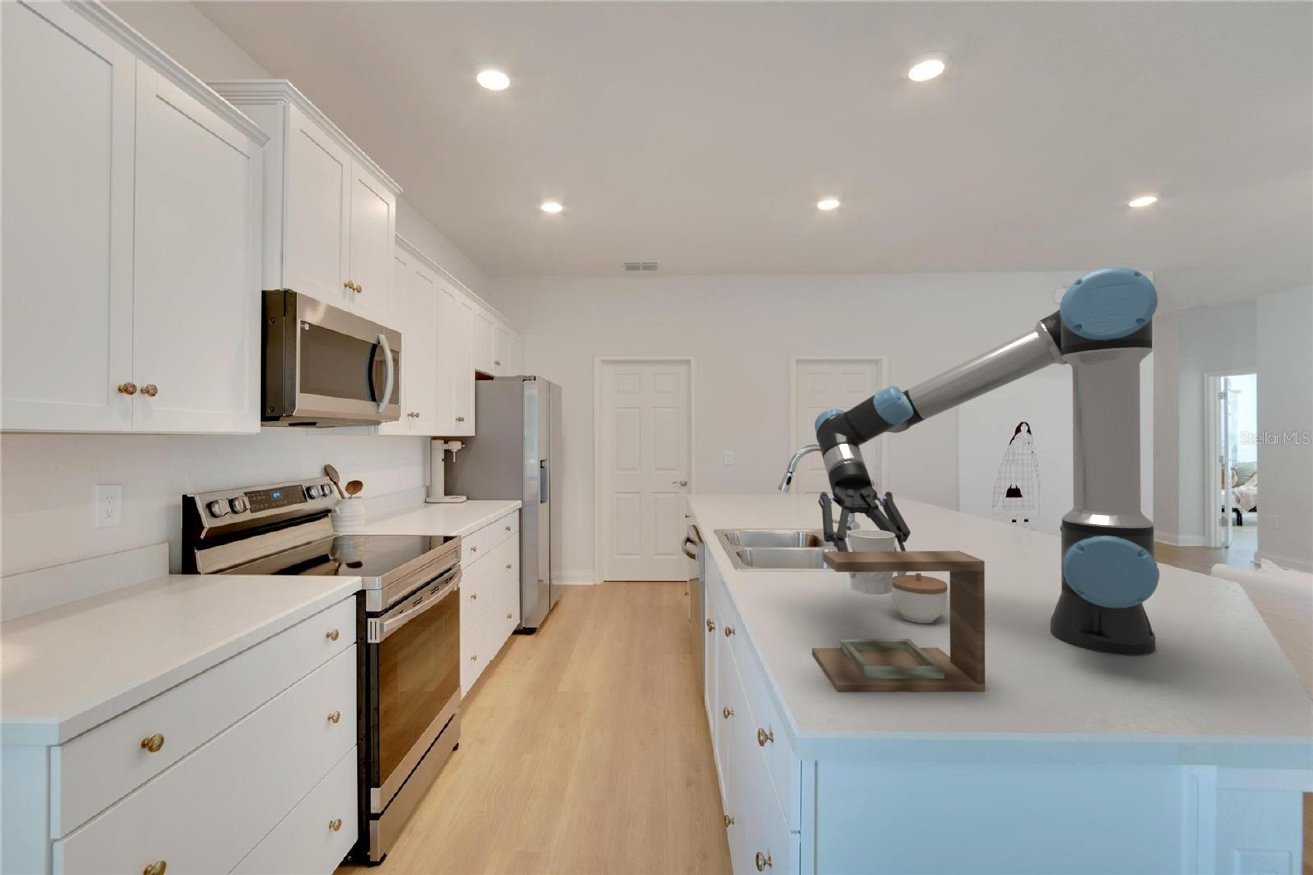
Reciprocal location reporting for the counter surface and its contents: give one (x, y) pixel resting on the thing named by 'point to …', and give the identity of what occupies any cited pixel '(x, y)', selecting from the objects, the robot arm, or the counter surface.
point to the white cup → (871, 543)
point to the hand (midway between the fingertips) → (878, 574)
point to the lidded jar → (919, 597)
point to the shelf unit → (901, 658)
